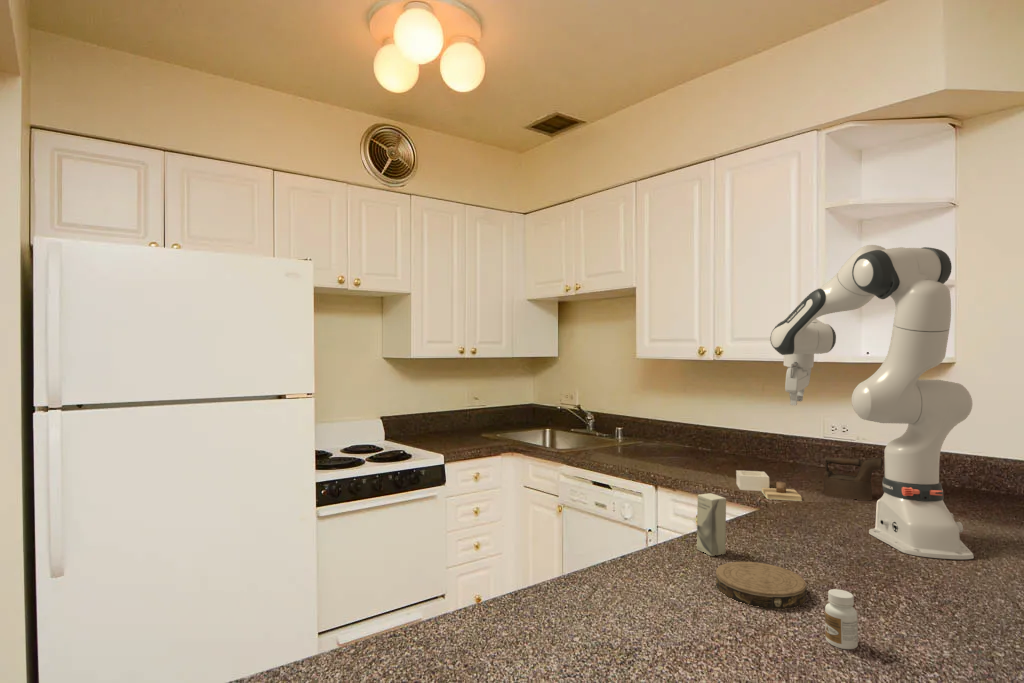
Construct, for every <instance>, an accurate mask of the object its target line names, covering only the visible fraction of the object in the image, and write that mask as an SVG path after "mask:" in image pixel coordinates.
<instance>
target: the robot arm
mask: <svg viewBox="0 0 1024 683" xmlns="http://www.w3.org/2000/svg"><path fill="white" fill-rule="evenodd" d="M951 273H952V261H951V258H950V257H949V255H948V254H947V253H946V251H943V250H941V249H939V248H935V247H928V246H927V247H926V246H925V247H902V246H901V247H891V248H885V247H883V246H881V245H876V244H868V245H864V246H862V247H860V248H859V249H857V250H856V251H855V252H854V253H853V254H852V255H851V256H850V257H849V258H848V259H847V260H846V261H845V262H844V264H843V265H842V266H841V267H840V269H839V270H838V272H836V274H834V276H833V277H832V278H830V280H829V281H827V282H826V283H825V284H823V285H822V286H820V287H819V288H817V289H815V290H813V291H812V292H810V293H808V294H807V296H805V298H804V299H803V300H802V301H800V303H799V304H798V305H797V307H795V309H793V310H792V312H791V313H789V314H788V315H787V317H785V319H784V320H782V321H780V322H778V323H777V324H776V325H775V327H774V328H773V329H772V331H771V333H770V338H769V341H770V345H771V346H772V348H773V349H774V350H775V351H776V352H777V353H778V354H780V355H781V356H783V367H787V369H786V373H785V384H784V390H785V392H786V393H789V400H790V401H789V404H790V406H793V407H794V406H797V404H798V402H803V400H804V394H805V388H807V387H809V384H810V380H811V374H812V368H814V361H815V355H819V354H827V353H829V352H831V351H832V349H834V347H835V345H836V343H837V342H836V341H837V334H836V331H835V330H834V328H833V327H832V326H831V325H830V324H828V323H824V322H822V321H820V320H819V319H818V318H820V317H822V316H826V315H829V314H833V313H834V314H835V313H841V312H848V311H849V312H850V311H854V310H857V309H860V308H862V307H864V306H866V305H867V304H868V303H870V302H871V301H872V299H874V297H876V298H878V299H879V300H885V299H887V298H889V297H890V298H891V299H892V301H893V302H894V305H895V311H894V318H893V324H892V330H891V338H890V344H889V347H888V351H887V354H886V356H885V359H884V360H883V362H882V363H881V365H880V367H879V368H878V369H877V370H876V371H875V372H874V373H873V374H872V375H871V376H869V377H868V378H867V379H865V380H863V381H861V382H860V383H858V384H857V386H856V387H855V388H854V389H853V392H852V394H851V405H852V408H853V410H854V412H855V414H856V415H857V416H858V417H859V418H860V419H862V420H864V421H865V420H866V421H869V422H875V423H880V424H899V425H901V424H903V425H904V424H905V425H906V424H908V426H907V427H906V430H905V432H904V433H903V434H902V435H901V436H899V437H897V438H895V439H893V440H890V442H888V443H887V445H886V446H885V448H884V454H883V456H884V476H883V477H882V482H881V483H882V484H881V485H882V491H883V495H882V496H881V497H880V498H879V499H878V500H877V501H876V509H875V510H876V511H875V524H874V525H875V527H874V528H870V529H869V530H868V533H869V535H871V536H872V537H874V538H875V539H878V540H880V541H882V542H884V543H885V544H887V545H889V546H891V547H893V548H894V549H896V550H897V551H899V552H901V553H903V554H907V555H912V556H917V557H925V558H933V559H944V560H972V559H974V553H973V552H972V551H971V550H970V549H969V548H968V547H967V545H966V544H965V543H963V541H962V540H961V538H960V537H961V536H960V533H963V531H964V527H963V525H964V524H963V523H962V522H961V521H955V519H954V514H953V512H950V510H949V509H948V507H947V506H946V503H945V502H944V500H945V498H944V497H945V496H944V489H943V486H942V483H941V482H940V460H941V450H942V447H943V444H944V441H945V440H946V438H947V437H948V435H949V433H951V431H952V430H953V429H954V428H955V427H956V426H957V425H958V424H960V423H962V422H963V421H965V420H966V419H967V418H968V417H969V415H970V414H971V412H972V409H973V399H972V398H973V397H972V395H971V393H970V391H969V390H968V389H967V388H966V387H965V386H964V385H963V384H961V383H958V382H953V381H948V380H944V379H943V380H941V379H919V378H920V377H921V376H922V375H923V374H924V373H925V372H928V371H929V370H931V369H934V368H935V367H937V366H939V365H940V364H941V363H942V362H943V361H944V359H945V357H946V353H947V347H948V341H949V334H950V330H951V329H950V328H951V320H952V319H951V318H952V298H951V292H950V289H949V287H948V286H947V285H945V284H946V282H947V281H948V280H949V278H950V276H951Z"/></svg>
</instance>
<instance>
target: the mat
mask: <svg viewBox="0 0 1024 683" xmlns="http://www.w3.org/2000/svg"><path fill="white" fill-rule="evenodd" d="M761 493H762V494H763V496H764V497H765V498H766V499H767V500H769V499H768V498H767V497H766V496H765V494H764V493H763V492H762V491H761ZM776 500H777V501H778V500H781V501H783V500H782V499H776ZM793 501H796V502H801V501H800V500H793Z"/></svg>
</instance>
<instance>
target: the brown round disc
mask: <svg viewBox="0 0 1024 683" xmlns="http://www.w3.org/2000/svg"><path fill="white" fill-rule="evenodd" d="M716 586H717V588H718V589H719V591H720V592H722V593H723V594H725V595H726V596H727V597H729V598H732V599H734V600H736V601H738V602H742V603H745V604H749V605H753V606H759V607H763V608H762V609H765V608H767V609H766V610H782V609H783V610H786V609H785V608H791V609H795V608H794V607H796V608H798V607H797V606H799V607H800V605H801V606H803V605H804V604H805V603H806V602H807V585H806V581H805V579H804V578H802V576H801V575H799V574H797V573H796V572H794V571H791V570H790V569H786V568H784V567H780V566H778V565H773V564H768V563H765V562H763V563H762V562H756V561H734V562H733V561H732V562H731V561H730V562H727V563H723V564H721V565H719V566H718V567H717V568H716V570H715V587H716ZM717 588H716V589H717ZM718 589H717V590H718ZM719 591H718V592H719ZM720 592H719V593H720ZM723 594H722V595H723ZM726 596H725V597H726ZM727 597H726V598H727ZM729 598H728V599H729ZM732 599H731V600H732ZM734 600H733V601H734ZM736 601H735V602H736ZM738 602H737V603H738ZM804 602H805V603H804ZM742 603H741V604H742ZM803 603H804V604H803ZM745 604H744V605H745ZM802 604H803V605H802ZM749 605H748V606H749Z"/></svg>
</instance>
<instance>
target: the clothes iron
mask: <svg viewBox="0 0 1024 683" xmlns="http://www.w3.org/2000/svg"><path fill="white" fill-rule="evenodd" d="M824 462H825V463H824V464H825V465H824V466H825V467H824V474H823V495H824V496H827V497H828V496H829V497H834V498H835V497H836V498H842V499H843V498H844V499H850V500H851V499H857V500H856V501H872V500H873V489H872V488H873V487H872V481H871V480H872V475H873V472H874V471H877V470H878V471H882V469H883V465H884V463H883V458H882V457H875V458H873V457H872V458H868V459H865V460H862V459H860V458H847V457H841V456H840V457H833V456H832V457H831V456H828V455H827V456H824ZM829 464H831V465H832V464H835V465H840V466H855V467H859V470H858V471H857V475H856V476H855V475H849V474H843V473H835V472H833V471H832V470H830V469H829Z"/></svg>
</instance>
